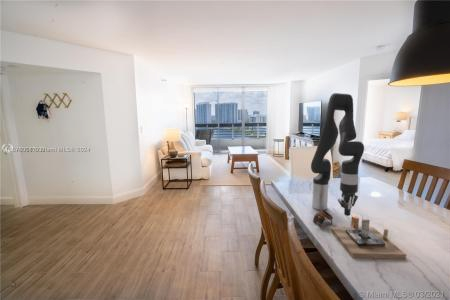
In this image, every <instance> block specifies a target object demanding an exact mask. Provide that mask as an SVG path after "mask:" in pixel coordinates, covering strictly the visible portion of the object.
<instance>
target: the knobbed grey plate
mask: <svg viewBox="0 0 450 300" xmlns="http://www.w3.org/2000/svg"><path fill="white" fill-rule="evenodd" d="M359 222H360V218H359V216H357V215H351V222H350V227H353V228H354V229H355V230H346V233H347V234H348V235H349V236H350V237H351V238H352V239H353V240H354V241H355V243H356V244H357V245H358V246H385V243H384V242H383V241H382V240H381V239H379V238H378V237H377V236H376V235H375V234H374V233H372V232H371V231H370V230H369V234H368V238H369V239H362V238H361V237H360V236H361V229H360V228H359V227H360V226H359Z"/></svg>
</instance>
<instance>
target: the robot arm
mask: <svg viewBox="0 0 450 300" xmlns="http://www.w3.org/2000/svg"><path fill="white" fill-rule="evenodd" d="M326 109H327V110H326V115H325V120H324V121H323V122H324V123H323V126H322V129H321V132H320V136H319V140H318V144H317V147H316V151H315V152H314V154H313V157H312V161H311V163H310V169H311V172H312V173H314V174H317V175H316V176H314V177H313V180H312V202H311V207H312V208H313V209H314V210H318V211H321V210H324V211H326V210H327V209H328V202H329V201H328V200H329V198H328V197H329V181H330V180H331V174H332V173H331V171H332V163H331V161H330V160H329V159H327V158H325V156H326V155H327V154H328V152H330V150H331V149H332V148H333V147H334V146H335V144H336V143H337V139H338V136H339V145H338V150H337V151H338V154H340V155H341V156H343V157H352V158H351V159H347V160H343V161H342V162H341V173H340V179H339V180H340V183H339V184H340V185H339V190H340V191H341V192H342V193H341V197H340V198H338V199H337V201H338V203H339V205H340V206H341V208H343V210H344V212H343V215H345V216H347V217H349V216H351V211H352V210H351V209H353V207H354V206H355V204H356V202H357V200H358V197H359V195H356V193H358V189H359V166H360V162H361V159H362V157H363V155H364V152H365V145H364V143H363V142H362V141H354V140H355V139H356V138H357V131H356V127H355V123H354V98H353V95H352V94H350V93H342V92H341V93H340V92H334V93H332V94H331V95H330V97H329V100H328V104H327V108H326ZM335 111H341V112H343V111H344V116H343V117H342V118H341V120H340V121H339V124H338V126H337V124H336V121H335Z"/></svg>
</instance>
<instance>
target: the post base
mask: <svg viewBox="0 0 450 300" xmlns="http://www.w3.org/2000/svg"><path fill="white" fill-rule="evenodd" d="M370 221H371V220H370V219H369V218H366V217H365V218H364V217H363V218H361V227H360V226H358V227H359V228H360V229H361V236H360V237H361V238H362V239H369V238H368V234H369V230H370V231H371V232H372V233H374V234H375V235H376V236H377V237H378V238H379V239H381V240H382V241H383V242H384V243H385V246H358V245H357V244H356V243H355V241H354V240H353V239H352V238H351V237H350V236H349V235H348V234H347V233H346V230H355V229H354V228H353V227H352V226H340V227H339V226H331V227H330V232H331V233H332V234H333V236H334V237H335V238H336V240H337V241H338V242H339V243H340V244H341V246H342V247H343V248H344V249H345V250H346V252H347V253H348V254H349V255H350V256H351V258H352V259H354V258H355V259H396V260H397V259H400V260H401V259H402V260H403V259H406V258H407V254H406V252H405V251H403V250H401V249H400V248H399V247H398V246H397V245H395V243H393V242H392V241H391V240H390V239H388V236H389V234H388V233H389V229H387V228H384V229H383V233H381V232H380V231H379V230H378V229H376V228H375V227H374V226H373V227H370Z"/></svg>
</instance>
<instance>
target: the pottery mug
mask: <svg viewBox="0 0 450 300" xmlns="http://www.w3.org/2000/svg"><path fill="white" fill-rule="evenodd" d="M326 219H327V220H329V221H330V223H329V225H330V226H331V225H332V223H333V219H334V217H333V215H331V214H330V213H329V212H327V211H326V210H318V211H317V212H316V213H315V214H314V217H313V219H312V222H313V223H314V224H315V225H320V226H322V225H323V224H324V222H325V221H326Z"/></svg>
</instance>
